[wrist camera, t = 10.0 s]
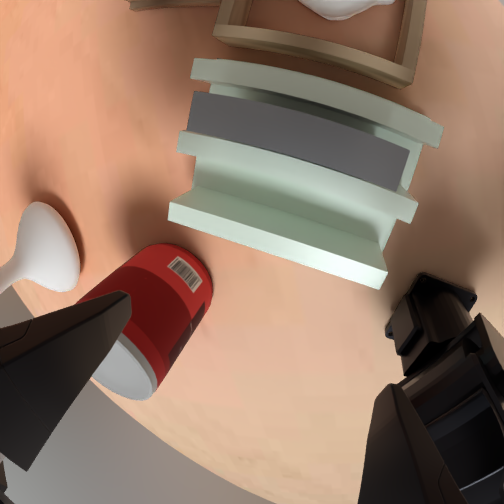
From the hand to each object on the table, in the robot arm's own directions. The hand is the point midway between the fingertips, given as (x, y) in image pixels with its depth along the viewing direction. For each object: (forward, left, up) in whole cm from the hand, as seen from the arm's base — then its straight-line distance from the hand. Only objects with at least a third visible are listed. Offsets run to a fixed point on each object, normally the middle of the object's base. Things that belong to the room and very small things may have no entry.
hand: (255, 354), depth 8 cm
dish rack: (+1, -4, -13) cm, 14 cm away
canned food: (+9, +9, -13) cm, 18 cm away
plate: (+1, -6, -12) cm, 13 cm away
